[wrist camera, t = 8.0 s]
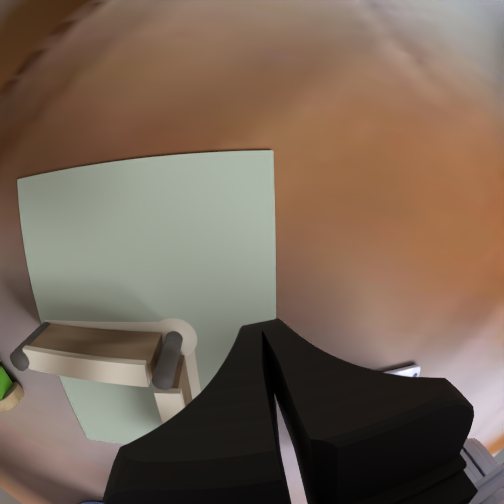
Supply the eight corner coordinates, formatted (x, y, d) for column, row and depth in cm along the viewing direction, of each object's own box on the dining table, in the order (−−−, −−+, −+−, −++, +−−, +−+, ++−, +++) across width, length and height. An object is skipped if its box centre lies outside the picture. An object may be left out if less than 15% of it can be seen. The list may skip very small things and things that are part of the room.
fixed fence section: (204, 440, 23) (202, 485, 18) (186, 440, 23) (182, 484, 18) (184, 329, 20) (174, 373, 15) (162, 329, 20) (146, 373, 15)
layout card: (274, 442, 24) (274, 444, 23) (88, 437, 22) (87, 439, 22) (272, 150, 18) (273, 150, 18) (18, 179, 17) (16, 179, 16)
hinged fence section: (161, 329, 20) (146, 370, 15) (163, 349, 20) (150, 392, 15) (39, 319, 19) (7, 349, 14) (44, 338, 19) (14, 370, 14)
